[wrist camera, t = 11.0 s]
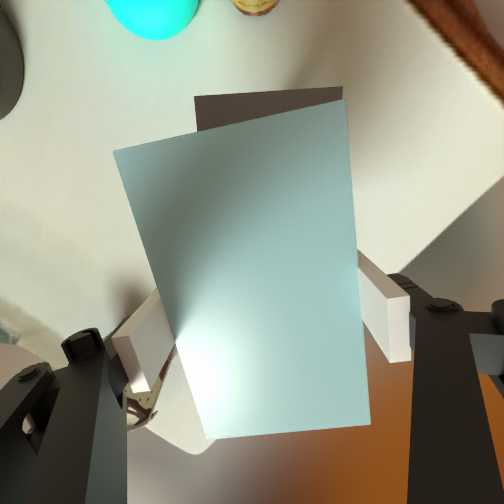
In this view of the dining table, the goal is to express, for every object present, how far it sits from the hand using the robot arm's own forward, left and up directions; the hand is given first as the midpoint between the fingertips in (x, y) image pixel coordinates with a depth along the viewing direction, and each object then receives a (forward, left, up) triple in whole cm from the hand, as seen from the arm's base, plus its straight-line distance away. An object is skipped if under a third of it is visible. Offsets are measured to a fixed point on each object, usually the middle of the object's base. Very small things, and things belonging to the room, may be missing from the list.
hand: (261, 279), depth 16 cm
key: (-10, +2, -16) cm, 19 cm away
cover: (0, 0, 0) cm, 0 cm away
